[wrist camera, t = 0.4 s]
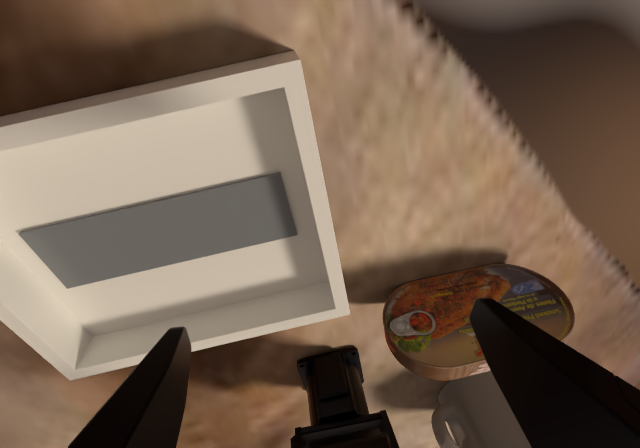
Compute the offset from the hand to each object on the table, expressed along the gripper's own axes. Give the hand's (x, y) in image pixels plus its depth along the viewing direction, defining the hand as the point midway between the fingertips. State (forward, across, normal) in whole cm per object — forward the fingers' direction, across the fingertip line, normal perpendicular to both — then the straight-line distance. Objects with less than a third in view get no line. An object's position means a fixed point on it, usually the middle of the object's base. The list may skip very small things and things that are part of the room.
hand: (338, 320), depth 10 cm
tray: (+14, +9, +5) cm, 17 cm away
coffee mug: (+15, -21, +32) cm, 41 cm away
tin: (+14, -14, +13) cm, 24 cm away
